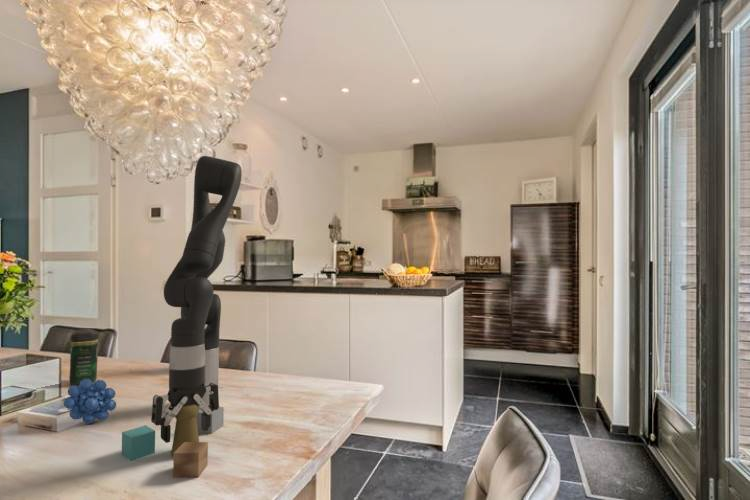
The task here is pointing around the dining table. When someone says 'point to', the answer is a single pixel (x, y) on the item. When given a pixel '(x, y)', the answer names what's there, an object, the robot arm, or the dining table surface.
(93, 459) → the dining table surface
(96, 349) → the coffee jar
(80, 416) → the blue knobby flower
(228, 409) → the dining table surface
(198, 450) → the walnut block
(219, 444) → the dining table surface
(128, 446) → the deep teal block
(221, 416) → the slate-grey block
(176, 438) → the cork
